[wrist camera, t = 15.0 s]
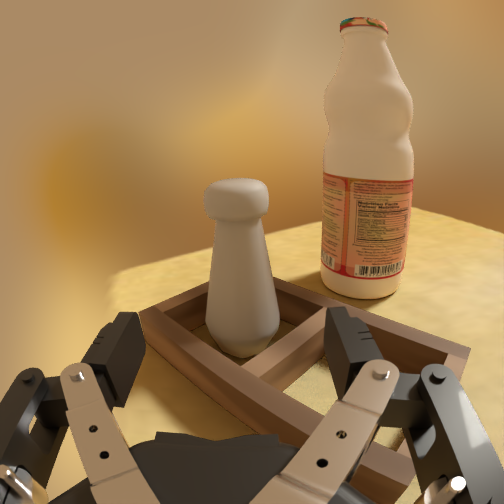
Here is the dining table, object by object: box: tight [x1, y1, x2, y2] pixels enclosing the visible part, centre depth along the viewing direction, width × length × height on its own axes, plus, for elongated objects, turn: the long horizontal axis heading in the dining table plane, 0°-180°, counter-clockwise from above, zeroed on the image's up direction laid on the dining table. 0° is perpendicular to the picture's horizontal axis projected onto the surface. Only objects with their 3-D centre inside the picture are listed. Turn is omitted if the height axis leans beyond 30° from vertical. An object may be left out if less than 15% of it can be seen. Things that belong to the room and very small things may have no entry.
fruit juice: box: [320, 17, 414, 299], centre depth 29 cm, size 9×9×28 cm
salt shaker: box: [204, 178, 280, 359], centre depth 23 cm, size 6×6×13 cm
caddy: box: [139, 276, 471, 504], centre depth 21 cm, size 12×22×3 cm, turn 45°
